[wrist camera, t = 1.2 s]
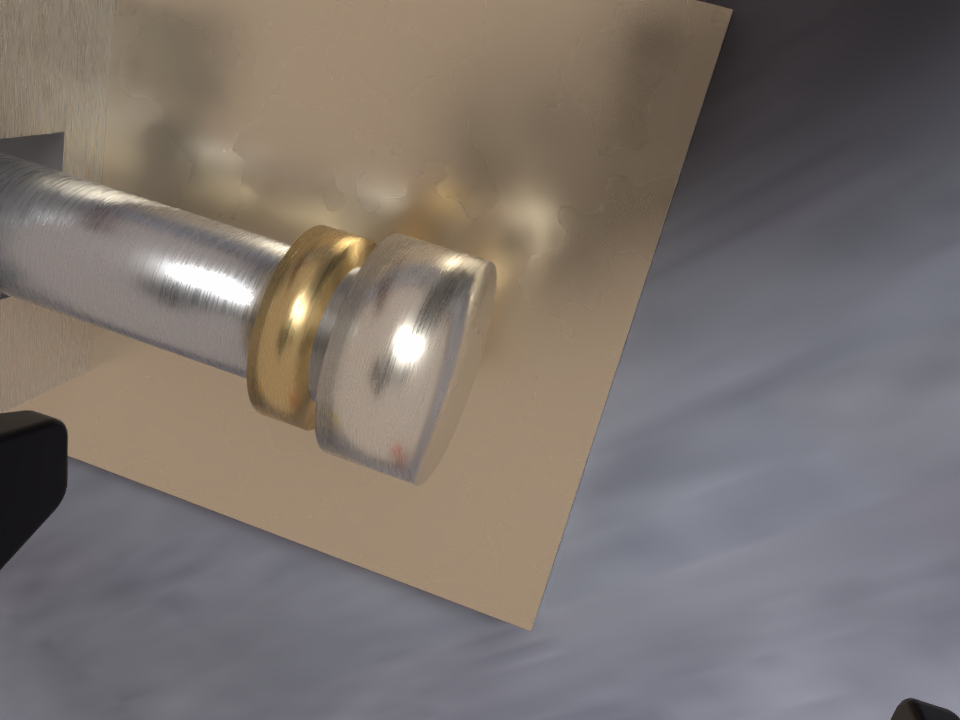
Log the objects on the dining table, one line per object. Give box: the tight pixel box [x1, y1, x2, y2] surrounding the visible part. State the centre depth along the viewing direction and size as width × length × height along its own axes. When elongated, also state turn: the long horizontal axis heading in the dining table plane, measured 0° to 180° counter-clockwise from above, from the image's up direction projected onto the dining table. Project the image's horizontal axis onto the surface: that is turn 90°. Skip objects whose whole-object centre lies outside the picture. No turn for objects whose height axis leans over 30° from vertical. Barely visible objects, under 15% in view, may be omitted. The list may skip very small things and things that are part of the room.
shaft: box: [0, 152, 497, 486], centre depth 19 cm, size 14×5×5 cm, turn 76°
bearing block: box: [0, 0, 733, 631], centre depth 20 cm, size 25×16×7 cm, turn 76°
